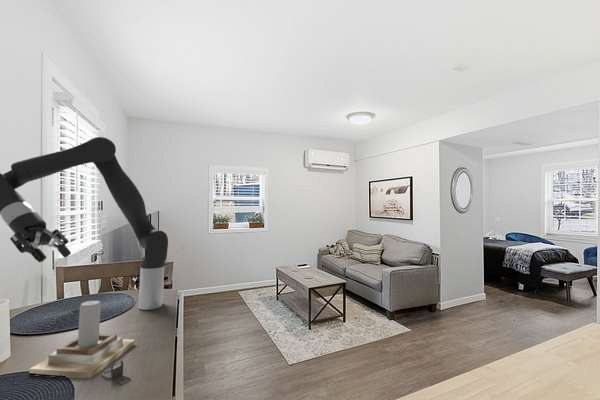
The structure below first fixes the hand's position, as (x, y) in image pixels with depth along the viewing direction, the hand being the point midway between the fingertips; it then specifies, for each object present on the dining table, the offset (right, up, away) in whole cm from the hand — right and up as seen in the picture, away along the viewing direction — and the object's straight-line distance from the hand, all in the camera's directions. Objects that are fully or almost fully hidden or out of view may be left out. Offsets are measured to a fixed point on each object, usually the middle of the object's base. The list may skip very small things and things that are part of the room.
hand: (56, 257), depth 88 cm
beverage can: (+15, -24, -7) cm, 29 cm away
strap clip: (+29, -28, -16) cm, 43 cm away
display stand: (+15, -27, -8) cm, 32 cm away
